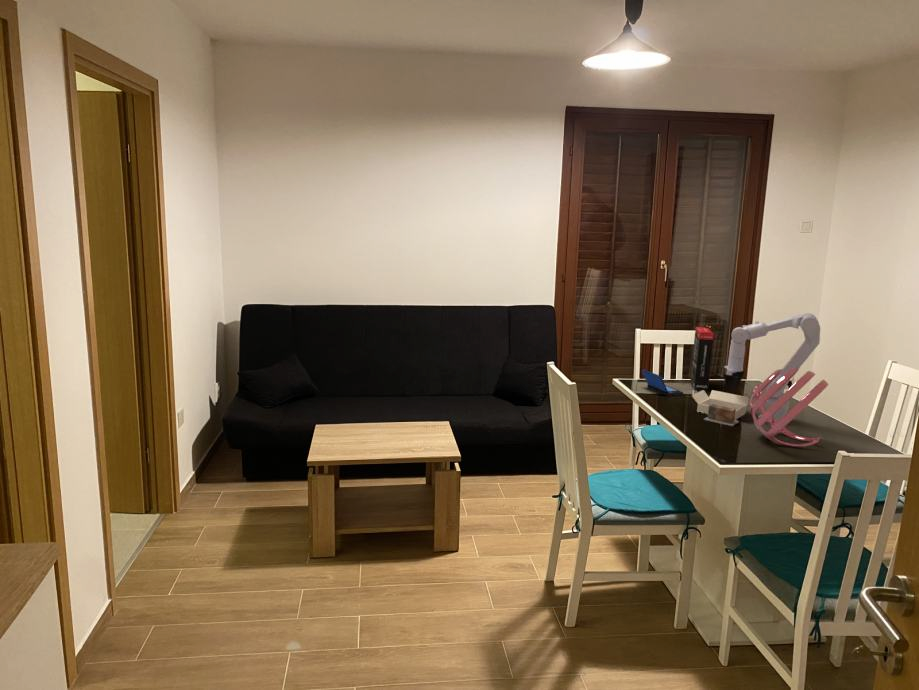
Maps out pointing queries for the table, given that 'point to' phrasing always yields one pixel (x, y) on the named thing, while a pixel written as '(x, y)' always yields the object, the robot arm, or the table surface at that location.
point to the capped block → (721, 413)
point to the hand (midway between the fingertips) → (732, 389)
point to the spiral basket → (768, 414)
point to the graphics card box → (701, 358)
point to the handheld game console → (659, 384)
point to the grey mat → (722, 422)
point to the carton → (721, 402)
